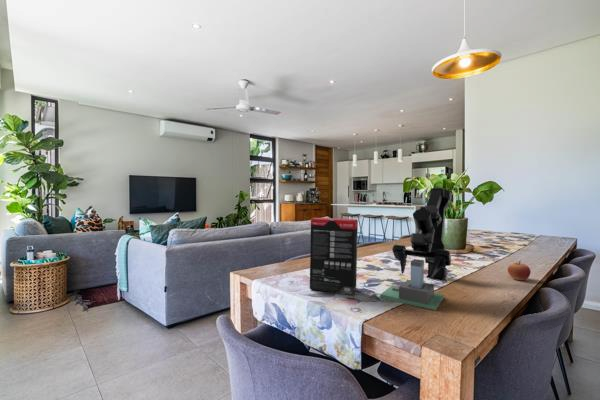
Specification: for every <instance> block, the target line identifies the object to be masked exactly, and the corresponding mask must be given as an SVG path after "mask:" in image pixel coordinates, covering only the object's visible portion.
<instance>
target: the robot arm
mask: <svg viewBox="0 0 600 400" xmlns="http://www.w3.org/2000/svg"><path fill="white" fill-rule="evenodd" d="M452 195H453V194H452V191H451V190H449V189H445V188H443V187H432V188H430V190H429V195H428V196H429V197H428V200H427V203H426V206H420V208H418V209H416V210H415V211H414V212H413V213H412V217H413V222H414V224H415V228H416V229H417V231H416V232H417V233H415V232H411V235H410V243H411V249H406V248H407V247H406V245H404V244H394V245H393V246H392V254H393V256H394V258H395V259H397V261H399V262H400V264H399V265H400V271H401V274H402V275H403V274H404V272H405V269H406V265H407V258H408V256H411V257H418V258H424V264H427V275H426V278H427V279H428V278H429V279H434V280H437V281H443V280H445V279H446V278H448V277H447V275H448V273H447V272H448V270H447V267H448V266H450V267H451V264H452V256H451V252H450V250H449V249H447V247H446V246H445V244H444V228H445V218H446V217H445V216H446V210H447V209H448V207H449V206H450V205H451V201H452V197H453V196H452Z"/></svg>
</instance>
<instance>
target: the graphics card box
mask: <svg viewBox="0 0 600 400" xmlns="http://www.w3.org/2000/svg"><path fill="white" fill-rule="evenodd" d="M358 224H359V219H356V218H355V219H354V218H353V219H351V218H338V217H337V218H334V217H333V218H332V217H311V218H310V250H309V251H310V252H309V253H310V256H309V258H310V259H309V289H310V290H314V291H320V290H321V292H327V291H328V292H330V293H334V294H335V293H336V294H342V295H349V296H354V294H355V292H356V290H357V270H358V269H357V268H358V267H357V266H358V264H357V263H358V226H359V225H358Z"/></svg>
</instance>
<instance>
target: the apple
mask: <svg viewBox="0 0 600 400" xmlns="http://www.w3.org/2000/svg"><path fill="white" fill-rule="evenodd" d="M507 266H508V267H507V273H508V275H509V276H510V277H511V278H512V279H514V280H516V281H526V280H528V279H529V278H530V277H531V276H530V275H531V273H532V272H531V269H530V267H529V266H528V265H527V264H524V263H521V260H520V261H519V262H511V263H510V264H509V265H507Z"/></svg>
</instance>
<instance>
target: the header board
mask: <svg viewBox="0 0 600 400" xmlns="http://www.w3.org/2000/svg"><path fill="white" fill-rule="evenodd" d="M410 283H411V279H407V280H405V281H403V283H402V284H401V285H396V284H395V285H394V284H391V285H390V286H389V287H388V288H387V289H385V290H384V291H382V293H380V294H379V298H380V299H385V300H388V301H392V302H397V303H402V304H405V305H409V306H410V305H411V306H415V307H419V308H422V309H423V308H424V309H428V310H432V311H437V309H438V308H439V306H440V304H441V303H442V302H443V300H444V296H445V295H444V294H441V293H435V284H434V283H433V284H432V283H428V282H424V284H423V288H422V289H419V288H414V287H410Z"/></svg>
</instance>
